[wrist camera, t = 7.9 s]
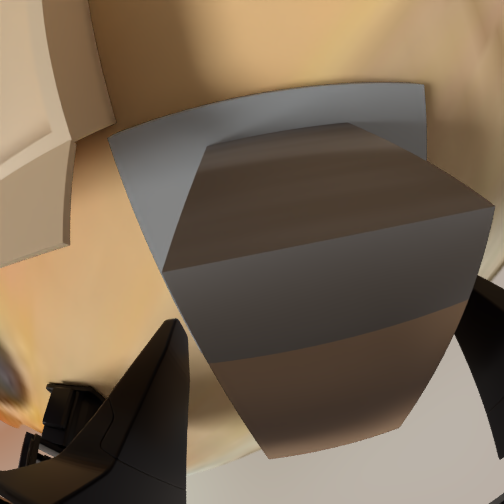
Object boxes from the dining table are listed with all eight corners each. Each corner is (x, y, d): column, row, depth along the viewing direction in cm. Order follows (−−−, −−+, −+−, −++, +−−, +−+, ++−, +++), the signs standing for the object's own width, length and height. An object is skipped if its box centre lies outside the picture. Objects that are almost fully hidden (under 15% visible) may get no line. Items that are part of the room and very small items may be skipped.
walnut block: (351, 305, 14) (399, 427, 8) (255, 325, 14) (268, 459, 8) (347, 122, 9) (494, 206, 3) (207, 146, 9) (161, 272, 3)
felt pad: (399, 298, 15) (406, 309, 15) (202, 339, 16) (201, 352, 15) (410, 82, 9) (423, 84, 8) (117, 132, 10) (107, 138, 9)
